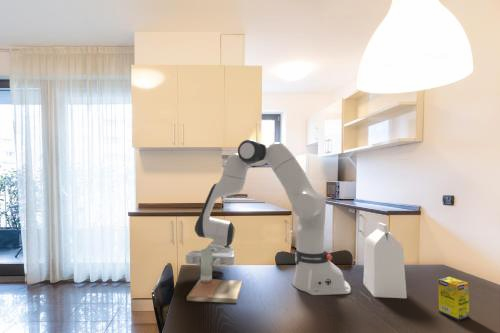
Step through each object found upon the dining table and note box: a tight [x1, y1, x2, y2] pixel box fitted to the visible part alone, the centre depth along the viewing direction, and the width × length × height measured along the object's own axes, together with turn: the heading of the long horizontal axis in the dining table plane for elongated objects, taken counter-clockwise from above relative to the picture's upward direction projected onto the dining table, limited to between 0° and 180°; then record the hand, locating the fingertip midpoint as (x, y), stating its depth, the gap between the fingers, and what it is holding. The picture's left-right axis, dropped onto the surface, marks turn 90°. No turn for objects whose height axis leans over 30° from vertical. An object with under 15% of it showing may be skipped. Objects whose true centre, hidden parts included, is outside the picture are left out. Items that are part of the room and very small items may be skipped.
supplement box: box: [437, 276, 470, 322], centre depth 84 cm, size 6×6×11 cm
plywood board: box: [186, 278, 243, 304], centre depth 101 cm, size 18×16×2 cm
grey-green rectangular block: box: [200, 248, 213, 284], centre depth 101 cm, size 4×4×12 cm
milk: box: [363, 222, 408, 299], centre depth 103 cm, size 12×12×26 cm
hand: (205, 264), depth 101 cm, fingers closed on grey-green rectangular block, 4 cm apart
